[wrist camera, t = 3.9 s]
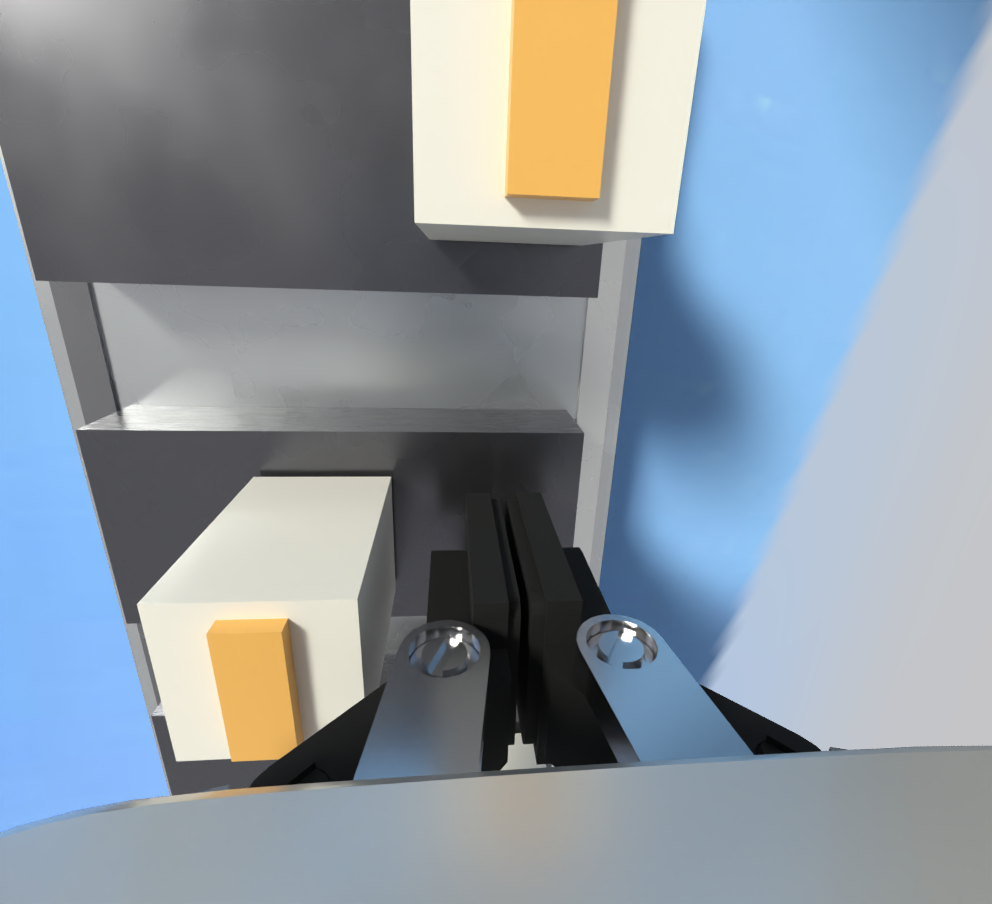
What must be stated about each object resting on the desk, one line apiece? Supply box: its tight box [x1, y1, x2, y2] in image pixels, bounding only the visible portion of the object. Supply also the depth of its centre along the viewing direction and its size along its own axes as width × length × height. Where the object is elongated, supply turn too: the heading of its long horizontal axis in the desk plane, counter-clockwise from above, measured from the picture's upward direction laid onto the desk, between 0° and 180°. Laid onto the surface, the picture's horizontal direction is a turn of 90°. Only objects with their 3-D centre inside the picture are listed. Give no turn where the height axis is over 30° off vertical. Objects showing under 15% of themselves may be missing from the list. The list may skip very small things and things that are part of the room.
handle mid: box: [137, 477, 396, 762], centre depth 10 cm, size 3×3×5 cm
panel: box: [0, 0, 642, 796], centre depth 14 cm, size 26×14×4 cm, turn 178°
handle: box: [410, 0, 706, 246], centre depth 7 cm, size 3×3×5 cm
